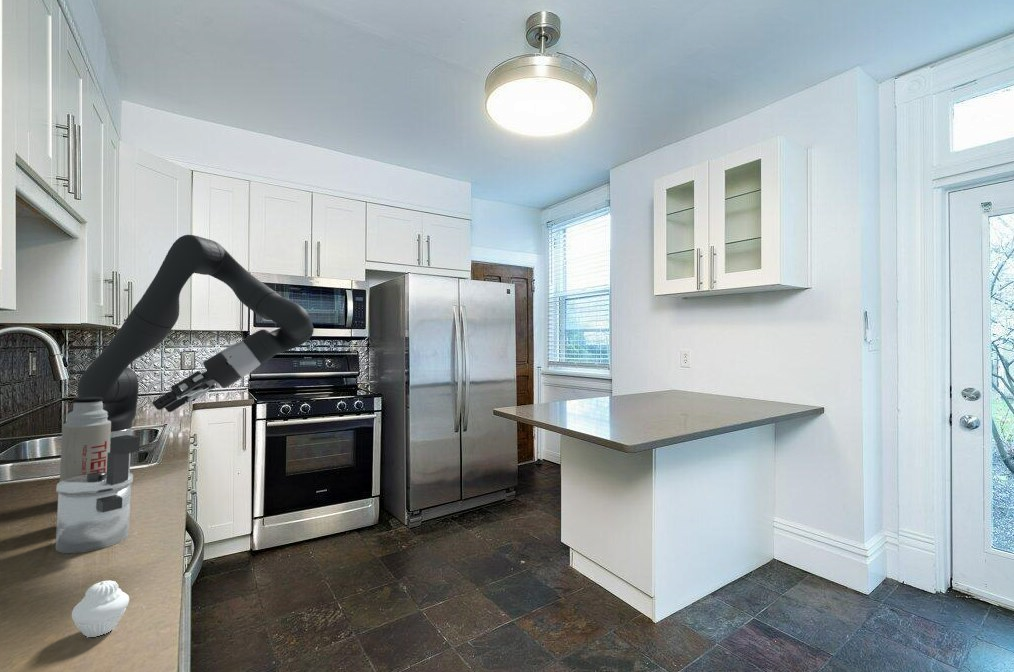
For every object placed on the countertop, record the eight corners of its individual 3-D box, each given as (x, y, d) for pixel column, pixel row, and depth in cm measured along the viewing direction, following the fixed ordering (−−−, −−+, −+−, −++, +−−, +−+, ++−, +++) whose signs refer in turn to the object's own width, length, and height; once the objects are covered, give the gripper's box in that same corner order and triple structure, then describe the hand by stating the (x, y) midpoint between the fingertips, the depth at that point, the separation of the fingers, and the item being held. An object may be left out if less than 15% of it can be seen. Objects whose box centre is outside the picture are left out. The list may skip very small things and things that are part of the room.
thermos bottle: (112, 523, 102) (118, 397, 103) (64, 535, 95) (70, 400, 96) (99, 515, 106) (104, 394, 107) (52, 526, 100) (58, 397, 100)
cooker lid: (40, 491, 89) (42, 438, 89) (103, 475, 100) (105, 428, 100) (99, 498, 86) (101, 443, 86) (157, 481, 97) (159, 432, 98)
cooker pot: (47, 543, 91) (50, 488, 92) (116, 525, 101) (118, 475, 101) (72, 562, 84) (75, 502, 84) (144, 541, 93) (146, 487, 94)
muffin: (77, 625, 66) (80, 576, 66) (131, 614, 69) (134, 567, 69) (64, 650, 61) (66, 597, 61) (123, 637, 64) (125, 586, 64)
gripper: (226, 356, 113) (158, 397, 105) (217, 345, 100) (139, 391, 93) (246, 380, 113) (179, 422, 106) (239, 372, 100) (163, 420, 93)
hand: (160, 408), depth 99 cm, fingers open, 8 cm apart
